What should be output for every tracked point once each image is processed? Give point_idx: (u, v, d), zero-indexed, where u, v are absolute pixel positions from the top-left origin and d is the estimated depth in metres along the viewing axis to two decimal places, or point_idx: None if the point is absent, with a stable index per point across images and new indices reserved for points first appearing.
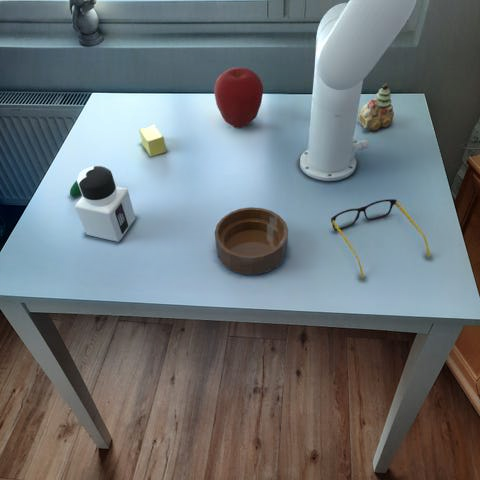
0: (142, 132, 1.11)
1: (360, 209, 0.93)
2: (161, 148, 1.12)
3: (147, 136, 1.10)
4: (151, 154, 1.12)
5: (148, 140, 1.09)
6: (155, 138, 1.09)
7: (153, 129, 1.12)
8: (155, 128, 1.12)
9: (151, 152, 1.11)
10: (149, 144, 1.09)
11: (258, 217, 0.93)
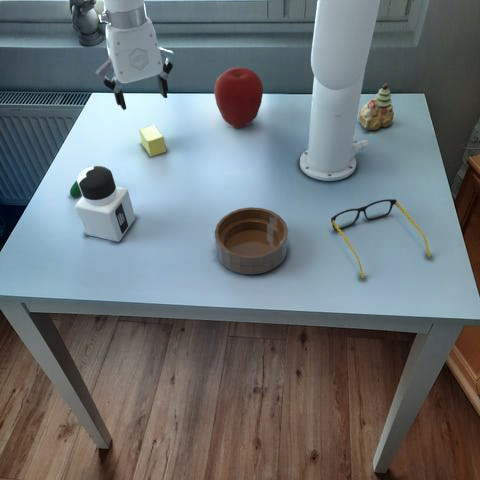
0: (142, 132, 1.11)
1: (360, 209, 0.93)
2: (161, 148, 1.12)
3: (147, 136, 1.10)
4: (151, 154, 1.12)
5: (148, 140, 1.09)
6: (155, 138, 1.09)
7: (153, 129, 1.12)
8: (155, 128, 1.12)
9: (151, 152, 1.11)
10: (149, 144, 1.09)
11: (258, 217, 0.93)
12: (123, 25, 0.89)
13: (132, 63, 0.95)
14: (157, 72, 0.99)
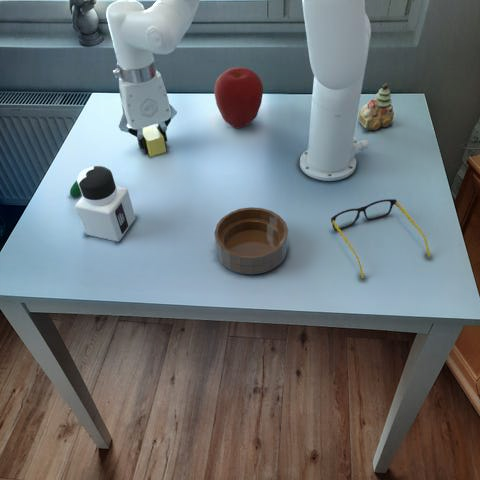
0: None
1: (360, 209, 0.93)
2: (161, 148, 1.12)
3: (147, 136, 1.10)
4: (151, 154, 1.12)
5: (148, 140, 1.09)
6: (155, 138, 1.09)
7: (153, 129, 1.12)
8: (155, 128, 1.12)
9: (151, 152, 1.11)
10: (149, 144, 1.09)
11: (258, 217, 0.93)
12: (135, 80, 0.97)
13: (143, 112, 1.03)
14: (166, 118, 1.07)
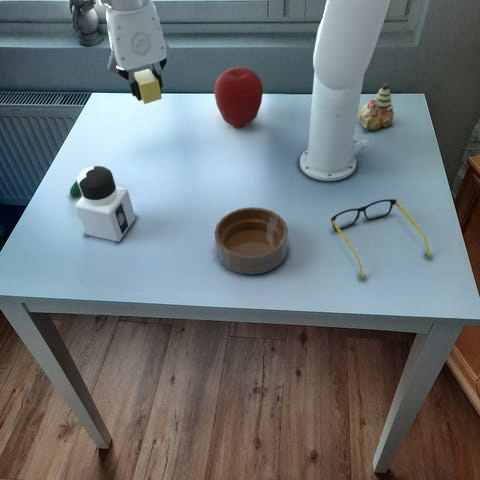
0: None
1: (360, 209, 0.93)
2: (156, 94, 0.99)
3: (140, 80, 0.97)
4: (145, 101, 0.99)
5: (141, 84, 0.96)
6: (149, 82, 0.97)
7: (146, 73, 0.99)
8: (149, 72, 0.99)
9: (144, 98, 0.99)
10: (142, 89, 0.97)
11: (258, 217, 0.93)
12: (124, 7, 0.85)
13: (134, 48, 0.91)
14: (160, 58, 0.94)
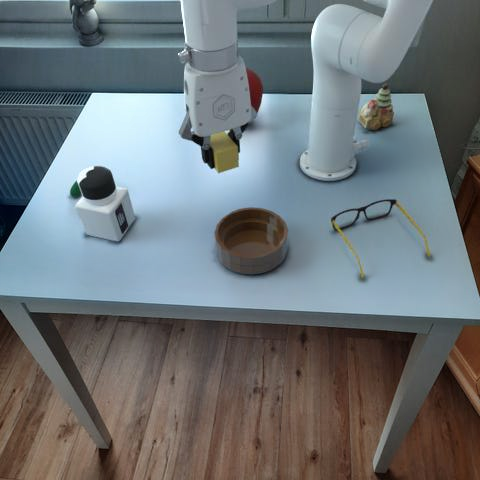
0: None
1: (360, 209, 0.93)
2: (233, 162, 0.82)
3: (215, 146, 0.80)
4: (219, 170, 0.82)
5: (217, 151, 0.79)
6: (227, 149, 0.80)
7: (222, 136, 0.82)
8: (225, 135, 0.82)
9: (219, 167, 0.81)
10: (218, 157, 0.80)
11: (258, 217, 0.93)
12: (210, 67, 0.68)
13: (215, 113, 0.74)
14: (244, 122, 0.77)
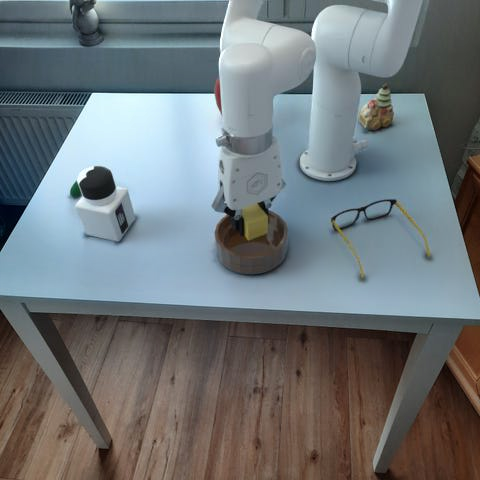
0: None
1: (360, 209, 0.93)
2: (262, 230, 0.84)
3: (246, 215, 0.82)
4: (249, 238, 0.84)
5: (248, 221, 0.81)
6: (257, 219, 0.82)
7: (251, 205, 0.84)
8: None
9: (250, 235, 0.84)
10: (249, 227, 0.82)
11: None
12: (247, 151, 0.70)
13: (249, 189, 0.76)
14: (275, 194, 0.80)
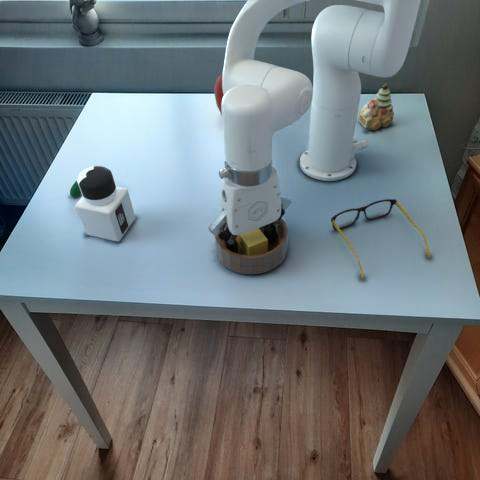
0: None
1: (360, 209, 0.93)
2: (262, 252, 0.89)
3: (247, 239, 0.87)
4: None
5: (249, 245, 0.86)
6: (258, 242, 0.86)
7: None
8: None
9: None
10: (250, 250, 0.86)
11: None
12: (248, 183, 0.75)
13: (250, 216, 0.81)
14: (274, 219, 0.84)
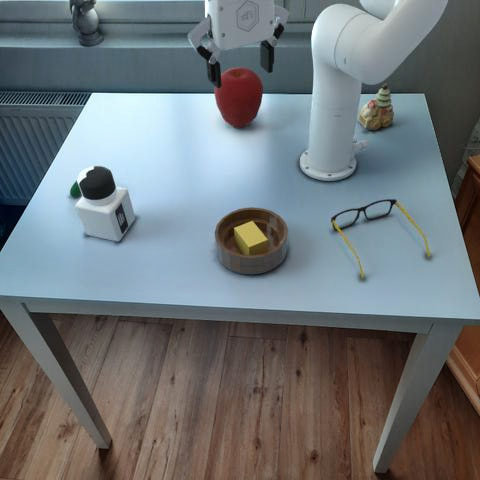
0: (239, 232, 0.88)
1: (360, 209, 0.93)
2: (262, 252, 0.89)
3: (247, 239, 0.87)
4: None
5: (249, 245, 0.86)
6: (258, 242, 0.86)
7: (252, 228, 0.89)
8: (255, 226, 0.89)
9: None
10: (250, 250, 0.86)
11: (258, 217, 0.93)
12: None
13: (239, 22, 0.70)
14: (267, 36, 0.74)
